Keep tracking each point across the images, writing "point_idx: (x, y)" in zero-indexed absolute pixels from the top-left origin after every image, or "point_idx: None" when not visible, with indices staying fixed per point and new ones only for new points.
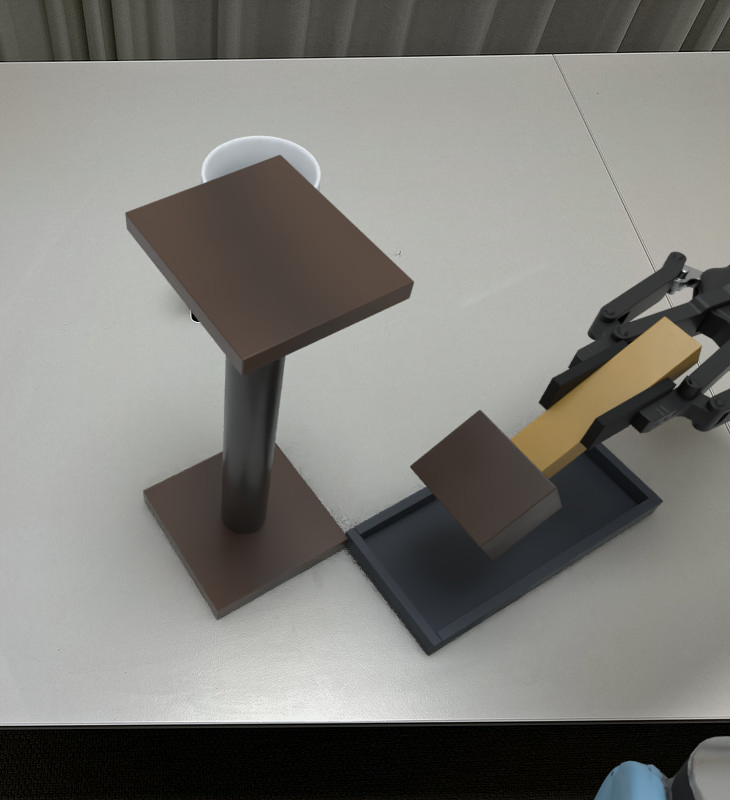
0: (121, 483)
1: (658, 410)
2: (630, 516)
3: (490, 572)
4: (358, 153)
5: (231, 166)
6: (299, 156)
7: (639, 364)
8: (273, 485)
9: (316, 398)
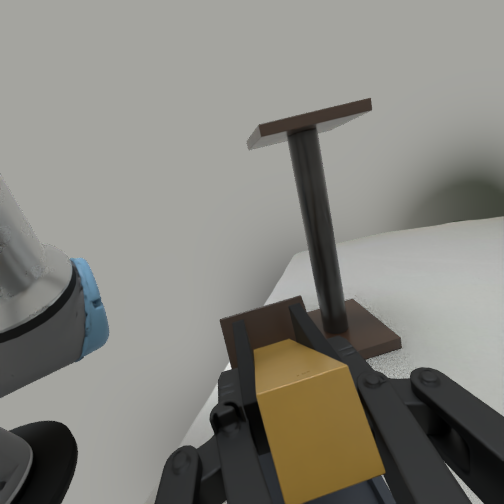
0: (364, 300)
1: (228, 385)
2: None
3: (270, 457)
4: None
5: None
6: None
7: (288, 362)
8: (354, 338)
9: (458, 381)
